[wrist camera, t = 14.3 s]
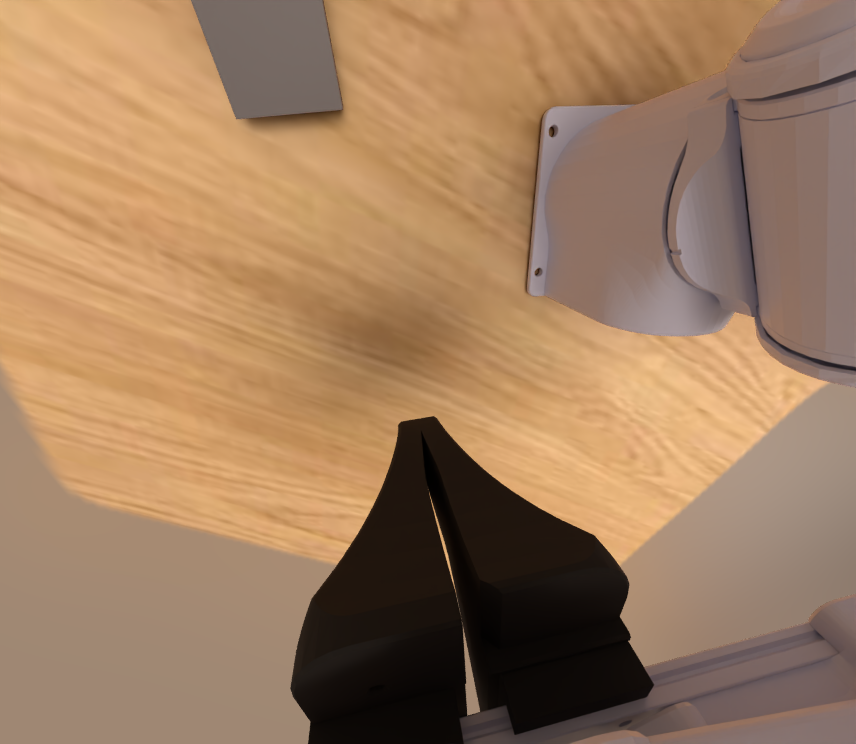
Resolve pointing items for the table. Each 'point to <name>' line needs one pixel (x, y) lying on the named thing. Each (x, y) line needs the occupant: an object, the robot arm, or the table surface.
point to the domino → (272, 55)
